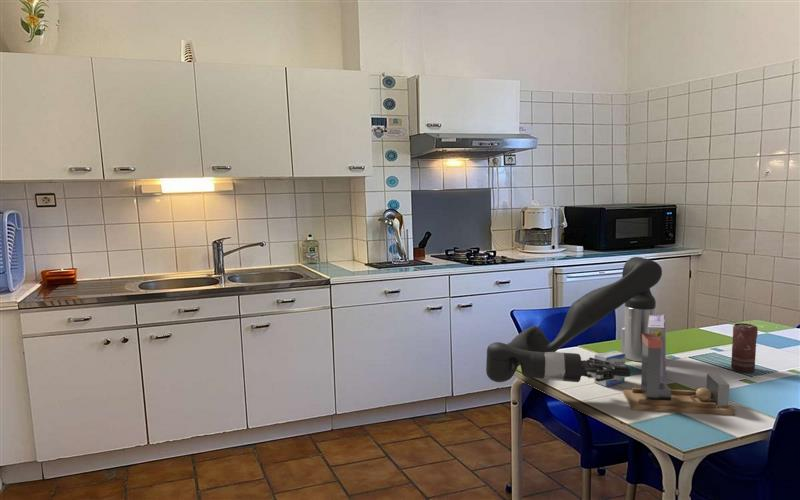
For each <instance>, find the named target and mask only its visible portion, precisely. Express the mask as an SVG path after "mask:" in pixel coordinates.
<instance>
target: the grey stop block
mask: <svg viewBox="0 0 800 500" xmlns="http://www.w3.org/2000/svg"><path fill="white" fill-rule="evenodd" d="M706 388H707V389H708V390H709V391H710V392H711V398H710V400H711V401H712V402H713V403H715V404H716V406H717V407H720V408H728V404H729V403H730V402H729V400H730V399H729V397H730V384H729V383H728V382H727V381H726V380H725V379H724V378H722V376H721V375H719V374H718V373H706ZM729 405H730V404H729Z"/></svg>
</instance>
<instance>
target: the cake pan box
mask: <svg viewBox="0 0 800 500" xmlns="http://www.w3.org/2000/svg"><path fill="white" fill-rule="evenodd" d="M648 334H656V335H657V336H658V337H659V338H660V339H661V340H662V347H661V357H660V383H666V378H667V377H666V375H667V365H666V363H667V362H666V360H667V356H666V349H667V348H666V343H667V342H666V340H667V339H666V316H665V314H655V315H649V322H648Z"/></svg>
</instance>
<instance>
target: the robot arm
mask: <svg viewBox="0 0 800 500" xmlns="http://www.w3.org/2000/svg"><path fill="white" fill-rule="evenodd" d="M662 269H663V268H662V267H661V265H660V264H659V263H658V262H656V261H654V260H653V259H649V258H644V257H640V256H634V257H631V258H629V259H628V260H626V262H625V263H624V264H623V268H622V272H621V273H622V276H621V278H619V279H618V280H616V281H615V282H612V283H609V284H607V285H605V286H601V287H598V288H595V289H594V290H591V291H590V292H588V293H586V294H583V296H581V297H580V298H578V299H577V300H575V301H574V302H572V304H571V305H570V307H569V309H568V311H567V313H566V316H565V318H564V321H563V324H562V326H561V329H560V330H559V332H558V334H557V335H556V337H555V339H553V341H550V340H549V339H548V337H546V335H545V334H544V332H543V331H542V329H541V328H540V327H538V326H536V325H533V326H530V327H527V328H525V329H524V330H522V331H521V332H520V333H518V334H517V335H516V336H515V337H514V338H513V339H512V340H511V341H510V342H508V343H504V342H500V341H498V342H497V341H496V342H492V343H490V344H488V346H487V348H486V364H485V365H486V366H485V370H486V376H487V378H489V380H490V381H492V382H494V383H504V382H507V381H509V380H511V379H512V378H513V377H514V375H515V373H516V371H517V370H518V367H519V366H520V370H521V375H522V376H523V377H525V378H533V379H545V380H550V381H558V382H571V383H579V382H580V381H581V380H582V379H581V378H582V377H586V378H588V379H594V378H596V381H598V382H599V381H604V380H609V379H614V377H615V376H625V377H630V376H631V369H630V367H629V366H614V365H613V364H610V363H609V362H606V361H602V360H598V359H595V357H589V359H585V360H583V359H582V357H581V355H580V354H579V353H573V352H560V351H558V350H560V349H561V348H563V346H565V345H566V344H568V342H570V341H571V340H573V339H574V338H575V337H577V336H578V335H581V334H582V333H583V332H585V331H586V330H589V328H591V327H593V326H594V325H595V324H597V323H598V322H600V321H602V320H603V319H604V318H606V317H607V316H608V315H609V314H611V313H612V312H614V311H616V309H618V308H620V307H621V306H622V305H624V326H623V327H621V331H620V332H621V336H620V338H621V339H620V352H621V353H624V354H625V360H626V359H627V360H630V361H635V362H641V363H642V344H643V341H642V333H644V334H648V322H649V315H656V308H657V307H656V298H655V297H654V295H653V294H652V291H651V289H652V288H653V287H654V286H657V284H658V283H659V281H660V280H661V278H662V274H663V270H662Z"/></svg>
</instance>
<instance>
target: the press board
mask: <svg viewBox="0 0 800 500" xmlns="http://www.w3.org/2000/svg"><path fill="white" fill-rule="evenodd" d="M622 391H623V393H622V394H623V396H624V398H625V400H626V401H627V403H628V406H630V409H631V411H647V412H649V411H650V412H668V413H670V412H671V413H686V414H688V413H691V414H707V415H725V416H735V415H736V410H735V409H734V407H732V406H731V405H730V404H728V408H720V407H717V406H716V404H715V403H713V402H712V401H711V400H710V399H709V400H708V401H701V400H699V399H698V398H697V396H696V391H697V390H691V389H689V390H688V389H687V390H686V389H671V401H670V400H650V399H646V398H645V397H644V395H643V394H642V392H641V387H631V389H622Z"/></svg>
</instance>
